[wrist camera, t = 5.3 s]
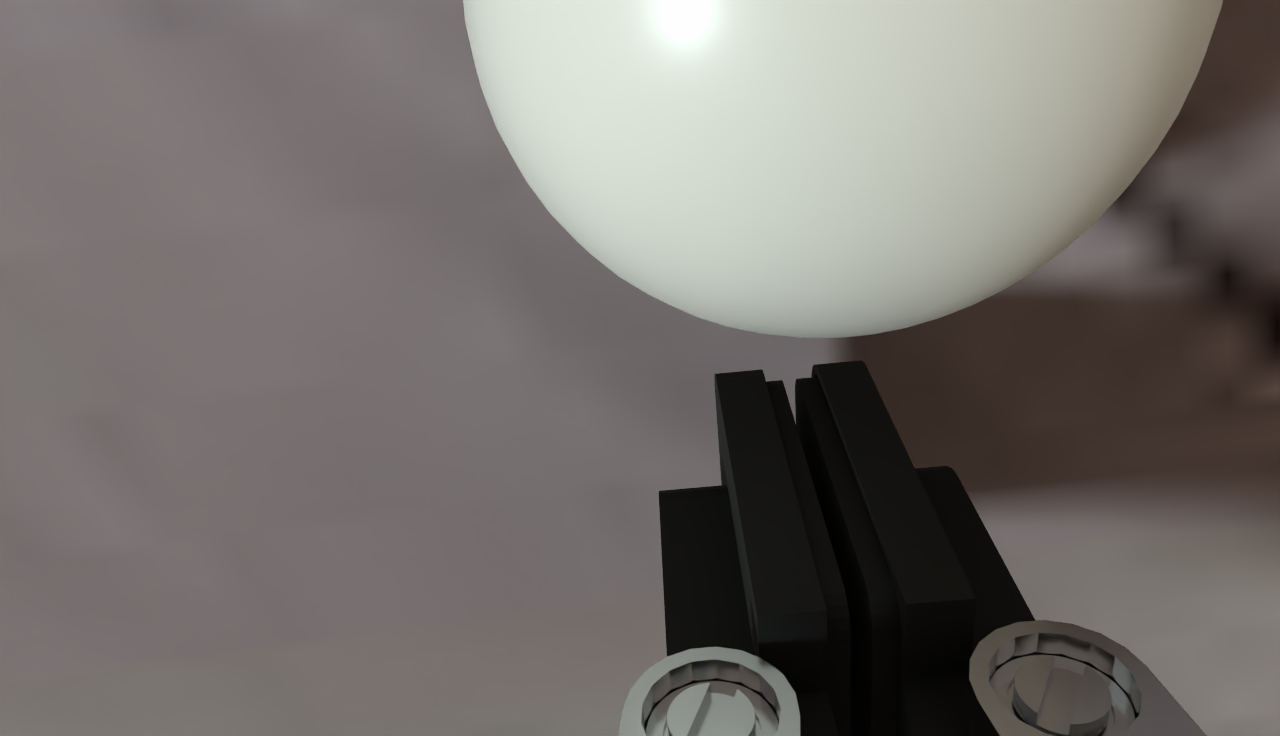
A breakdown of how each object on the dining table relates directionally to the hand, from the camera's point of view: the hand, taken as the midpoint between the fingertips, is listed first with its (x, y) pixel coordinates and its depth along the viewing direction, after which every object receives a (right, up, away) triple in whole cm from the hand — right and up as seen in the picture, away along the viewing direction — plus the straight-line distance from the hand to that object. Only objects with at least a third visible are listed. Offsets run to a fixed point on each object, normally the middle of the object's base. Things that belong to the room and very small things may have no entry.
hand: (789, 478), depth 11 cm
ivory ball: (0, +4, -4) cm, 6 cm away
